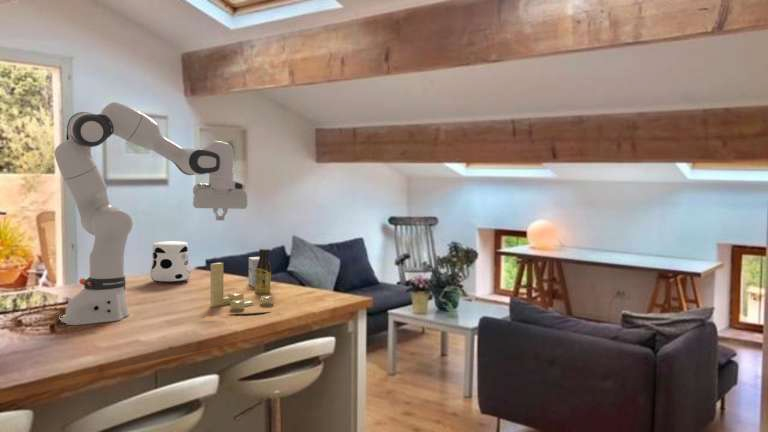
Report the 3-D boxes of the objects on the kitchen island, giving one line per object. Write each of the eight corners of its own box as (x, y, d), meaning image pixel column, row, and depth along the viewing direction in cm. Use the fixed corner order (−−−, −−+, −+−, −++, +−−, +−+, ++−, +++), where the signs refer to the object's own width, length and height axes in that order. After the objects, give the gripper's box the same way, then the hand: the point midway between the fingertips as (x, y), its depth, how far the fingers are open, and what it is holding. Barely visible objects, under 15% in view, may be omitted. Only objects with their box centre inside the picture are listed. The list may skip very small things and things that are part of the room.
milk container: (198, 281, 295) (198, 243, 294) (167, 287, 280) (167, 246, 279) (173, 277, 304) (173, 240, 303) (142, 282, 290) (142, 243, 288)
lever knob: (217, 307, 235) (217, 265, 234) (207, 305, 239) (207, 263, 237) (246, 301, 246) (246, 261, 245) (236, 299, 250) (236, 259, 248)
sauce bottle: (251, 296, 264) (252, 248, 263) (261, 293, 270) (261, 247, 268) (264, 298, 261) (264, 250, 260) (273, 295, 267) (274, 248, 265)
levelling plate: (237, 318, 225) (237, 306, 224) (205, 308, 240) (205, 296, 240) (287, 309, 241) (287, 298, 240) (254, 300, 256) (254, 289, 255)
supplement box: (248, 284, 290) (248, 257, 289) (264, 283, 293) (264, 256, 292) (251, 287, 284) (252, 259, 283) (268, 286, 287) (268, 258, 286)
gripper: (195, 183, 234) (194, 220, 235) (249, 185, 244) (248, 221, 245) (191, 183, 239) (190, 219, 240) (244, 184, 250) (243, 219, 250)
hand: (220, 220), depth 243 cm, fingers closed
